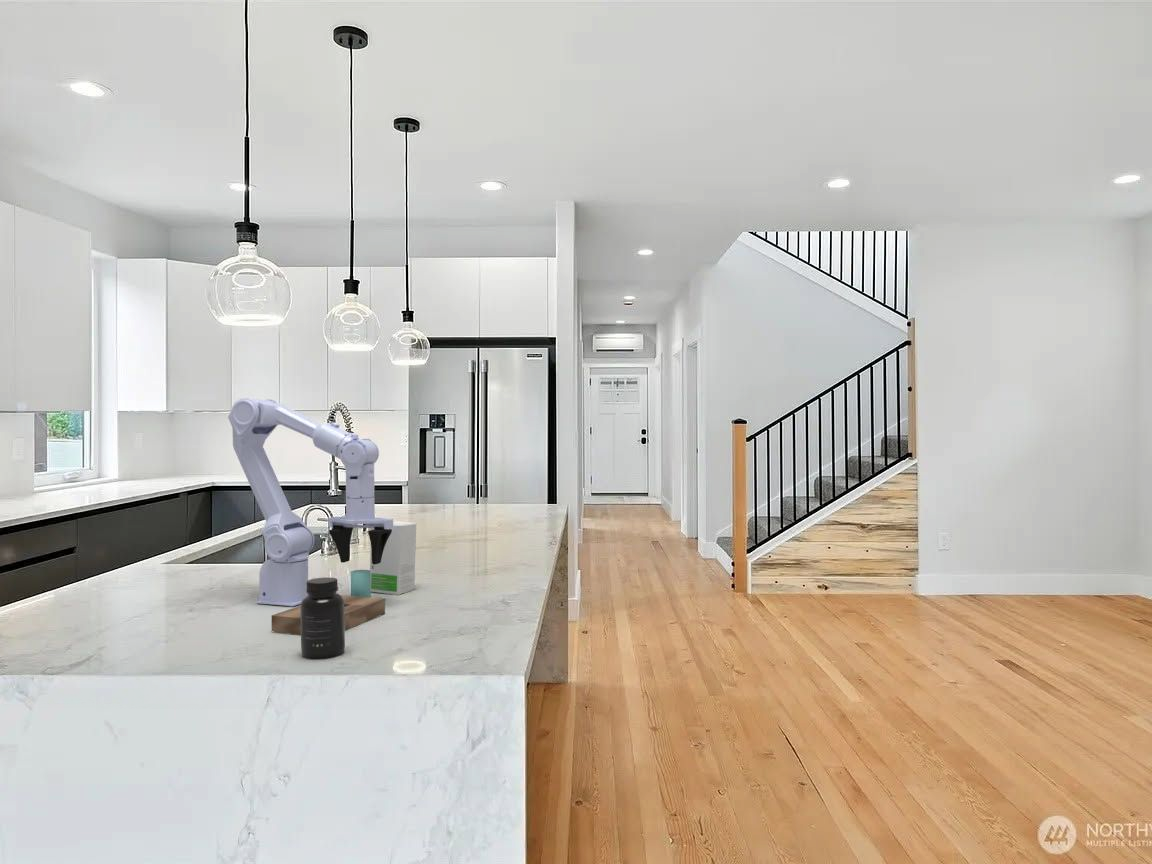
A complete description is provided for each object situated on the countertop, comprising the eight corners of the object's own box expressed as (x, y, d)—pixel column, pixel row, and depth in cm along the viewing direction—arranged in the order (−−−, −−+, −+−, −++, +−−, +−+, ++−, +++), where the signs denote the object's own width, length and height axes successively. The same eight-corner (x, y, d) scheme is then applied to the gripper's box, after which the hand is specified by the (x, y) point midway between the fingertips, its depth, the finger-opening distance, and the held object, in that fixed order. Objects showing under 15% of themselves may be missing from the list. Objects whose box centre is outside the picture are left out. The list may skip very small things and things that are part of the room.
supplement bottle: (307, 647, 126) (306, 576, 126) (348, 646, 127) (348, 575, 127) (295, 660, 119) (295, 584, 119) (339, 659, 120) (339, 583, 120)
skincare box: (368, 592, 169) (368, 523, 169) (386, 586, 175) (386, 519, 175) (400, 595, 166) (399, 524, 166) (417, 589, 172) (417, 521, 172)
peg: (346, 606, 156) (346, 572, 156) (358, 602, 159) (357, 569, 159) (363, 608, 154) (363, 573, 154) (374, 603, 158) (374, 570, 158)
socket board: (271, 632, 136) (271, 615, 136) (333, 609, 153) (333, 594, 153) (327, 637, 132) (327, 620, 132) (384, 613, 149) (384, 598, 149)
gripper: (318, 498, 155) (319, 564, 155) (379, 499, 151) (380, 567, 151) (339, 495, 162) (340, 558, 162) (398, 496, 157) (399, 561, 158)
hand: (360, 562), depth 157 cm, fingers open, 7 cm apart
